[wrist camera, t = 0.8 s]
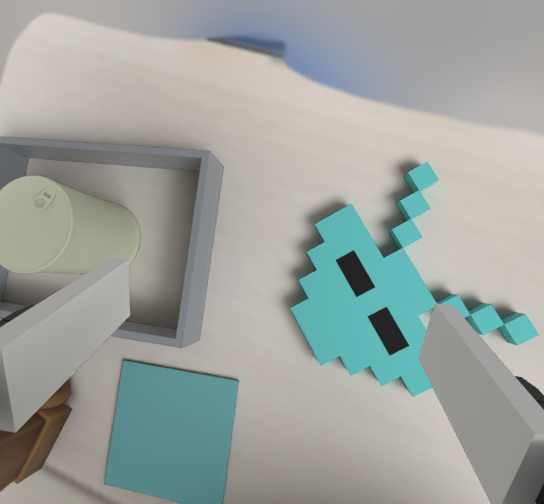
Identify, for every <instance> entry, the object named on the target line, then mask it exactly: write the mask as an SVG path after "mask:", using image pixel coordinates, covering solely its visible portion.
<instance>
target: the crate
mask: <svg viewBox="0 0 544 504" xmlns="http://www.w3.org/2000/svg"><path fill="white" fill-rule="evenodd" d="M28 158H37V159H49V160H62V161H75V162H87V163H100V164H113V165H125V166H138V167H150V168H163V169H176V170H188V171H200V173H199V180H198V187H197V194H196V201H195V208H194V215H193V222H192V229H191V236H190V243H189V249H188V256H187V263H186V270H185V277H184V284H183V291H182V298H181V305H180V312H179V319H178V326H177V329H172V328H165V327H159V326H153V325H147V324H140V323H134V322H128V321H124V322H123V323H122V324H121V325H120V326H119V327H118V328H117V329H116V330H115V331H114V332H113V334H112V335H111V336H113V337H119V338H125V339H131V340H137V341H143V342H149V343H155V344H161V345H167V346H173V347H179V348H183V347H185V346H188V345H190V344H192V343H194V342H196V341H199V340H200V333H201V326H202V319H203V312H204V305H205V297H206V290H207V283H208V276H209V269H210V261H211V254H212V247H213V240H214V233H215V225H216V218H217V211H218V204H219V197H220V189H221V182H222V175H223V168H224V167H223V165H222V164H221V163H220V162H219V161H218V160H217V159H216V157H215V156H214V155H213V154H212V153H211V152H210V151H203V150H189V149H174V148H160V147H145V146H131V145H116V144H101V143H87V142H72V141H58V140H43V139H29V138H14V137H0V190H1V189H2V188H3V187H4V186H6V185H7V184H8V183H10V182H11V181H13V180H15V179H17V178H20V177H24V176H25V175H26V169H27V164H28ZM7 275H8V269H6V268H4V267H3V266H2V265H0V318H5V317H7V316H8V315H10V314H12V313H13V312H15V311H17V310H20V309H23V308H25V307H28V306H27V305H21V304H14V303H8V302H3V297H4V291H5V286H6V280H7Z"/></svg>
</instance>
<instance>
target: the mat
mask: <svg viewBox="0 0 544 504" xmlns="http://www.w3.org/2000/svg"><path fill="white" fill-rule="evenodd" d="M238 382H239V380H234V379H228V378H223V377H217V376H212V375H206V374H201V373H195V372H189V371H184V370H178V369H173V368H167V367H161V366H156V365H150V364H145V363H139V362H133V361H128V360H124V361H123V365H122V372H121V378H120V385H119V391H118V398H117V404H116V411H115V417H114V424H113V430H112V437H111V443H110V450H109V456H108V463H107V469H106V476H105V482H104V484H106V485H110V486H114V487H118V488H123V489H127V490H131V491H135V492H139V493H143V494H147V495H151V496H155V497H159V498H163V499H167V500H171V501H176V502H180V503H184V504H223V498H224V490H225V482H226V475H227V467H228V459H229V452H230V444H231V436H232V428H233V421H234V413H235V405H236V398H237V390H238Z"/></svg>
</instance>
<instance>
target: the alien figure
mask: <svg viewBox="0 0 544 504" xmlns="http://www.w3.org/2000/svg"><path fill="white" fill-rule="evenodd" d="M404 178H405V179H406V181H407V183H408V184H409V186H410V187H411V189H412V191H413V192H414V193H413V194H411V195H409V196H408V197H406V198H404V199H402V200H400V201H399V202H398V203H397V206H398V208H399V209H400V211H401V213H402V214H403V216H404V217H405V219H406V222H404V223H403V224H401V225H399V226H397V227H395V228H393V229H392V230H390V231H389V233H390V235H391V236H392V238H393V240H394V241H395V243H396V245H397V246H398V248H399V250H397V251H396V252H394V253H392V254H390V255H388V256H386V257H384V258H383V256H382V254H381V253H380V251H379V249H378V248H377V246H376V244H375V243H374V241H373V239H372V237H371V236H370V234H369V232H368V231H367V229H366V227H365V226H364V224H363V222H362V221H361V219H360V217H359V216H358V214H357V212H356V210H355V209H354V207H353V205H352V204H350V205H348V206H347V207H345V208H343V209H341V210H339V211H338V212H336V213H334V214H332V215H330V216H329V217H327V218H325V219H323V220H321V221H320V222H318V223H316V224H315V227H316V229H317V231H318V232H319V234H320V236H321V238H322V239H323V241H324V243H322V244H320V245H319V246H317V247H315V248H313V249H311V250H309V251H308V252H307V253H308V255H309V257H310V259H311V260H312V262H313V264H314V266H315V268H316V269H317V270H316V271H314V272H312V273H311V274H309V275H307V276H305V277H303V278H301V279H300V280H299V282H300V284H301V285H302V287H303V289H304V291H305V293H306V295H307V296H308V299H306V300H304V301H302V302H301V303H299V304H297V305H295V306H293V307H291V308H290V309H291V310H292V312H293V314H294V316H295V318H296V320H297V322H298V324H299V325H300V327H301V329H302V331H303V333H304V335H305V337H306V339H307V340H308V342H309V344H310V346H311V348H312V350H313V352H314V354H315V355H316V357H317V359H318V361H319V363H320V365H323V364H325V363H327V362H329V361H331V360H333V359H335V358H337V357H339V356H340V357H341V359H342V361H343V363H344V364H345V366H346V368H347V370H348V372H349V374H350V375H353V374H355V373H357V372H359V371H361V370H363V369H365V368H367V367H369V366H370V367H371V368H372V370H373V372H374V374H375V376H376V377H377V379H378V381H379V383H380V385H381V386H382V385H384V384H386V383H388V382H390V381H392V380H394V379H396V378H398V377H401V379H402V380H403V382H404V384H405V386H406V387H407V389H408V391H409V392H410V394H411V395H412V396H413V397H414V396H416V395H418V394H420V393H422V392H424V391H426V390H428V389H430V388H432V385H431V383H430V381H429V379H428V377H427V375H426V373H425V371H424V369H423V367H422V365H421V363H420V361H419V359H418V357H419V354H420V351H421V347H422V344H423V341H424V337H425V334H426V331H427V330H426V329H425V327H424V325H423V324H422V322H421V320H420V318H419V317H418V315H420V314H422V313H424V312H426V311H428V310H430V309H432V308H433V307H434V304H435V303H438V304H445V305H452V306H454V307H455V308H456V309H457V310H458V311H459V313H460V314H461V315H462V316H463V317H464V318H465V317H466V318H467V320H468V321H469V323H470V325H471V326H472V328H473V329H474V330H475V331H476V332H477V333H478V334H481V335H485V334H487V333H489V332H491V331H493V330H495V329H497V328H499V329H500V331H501V332H502V334H503V335H504V337H505V339H506V340H507V342H508V343H511V344H514V345H519V344H521V343H523V342H525V341H527V340H529V339H531V338H533V337H535V336H537V335H539V334H538V333H537V331H536V329H535V328H534V326H533V325H532V323H531V322H530V320H529V319H528V317H527V316H526V314H522V313H514V314H512V315H510V316H508V317H506V318H504V319H502V320H501V319H500V317H499V316H498V314H497V312H496V311H495V309H494V308H493V306H492V305H491V304H485V303H483V304H481V305H479V306H477V307H475V308H473V309H471V310H469V311H468V310H467V308H466V307H465V305H464V303H463V302H462V300H461V299H460V297H459V295H453V294H452V295H450V296H448V297H446V298H444V299H442V300H440V301H438V302H436V301H435V300H434V298H433V296H432V295H431V293H430V291H429V290H428V288H427V287H426V285H425V283H424V282H423V280H422V278H421V277H420V275H419V273H418V272H417V270H416V268H415V267H414V265H413V263H412V262H411V260H410V258H409V257H408V255H407V253H406V252H405V250H404V249H403V248H404V247H406V246H407V245H409V244H411V243H413V242H415V241H417V240H419V239H420V238H422V236H421V234H420V232H419V231H418V229H417V227H416V226H415V224H414V223H413V221H412V219H413V218H415V217H417V216H419V215H421V214H422V213H424V212H426V211H427V210H429V209H430V206H429V205H428V203H427V202H426V200H425V199H424V197H423V195H422V194H421V192H420V191H422V190H424V189H426V188H427V187H429V186H431V185H433V184H434V183H435V182H436V181H437V180H439V179H438V178H437V176H436V175H435V173H434V171H433V170H432V168H431V167H430V165H429V164H428V162H426V163H424V164H422V165H420V166H418V167H417V168H415V169H413V170H411V171H409V172H408V173H407V174H406V176H405V177H404Z"/></svg>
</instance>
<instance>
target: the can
mask: <svg viewBox="0 0 544 504" xmlns="http://www.w3.org/2000/svg"><path fill="white" fill-rule="evenodd" d="M139 244H140V230H139V226H138V223H137V221H136V219H135V217H134V216H133V215H132V213H131V212H130V211H129V210H127V209H126V208H125V207H123V206H121V205H119V204H116V203H111V202H107V201H104V200H101V199H98V198H96V197H93V196H90V195H88V194H85V193H82V192H80V191H77V190H75V189H72V188H69V187H67V186H64V185H62V184H59V183H57V182H55V181H53V180H51V179H49V178H46V177H43V176H38V175H30V176H24V177H20V178H17V179H15V180H13V181H11V182H10V183H8V184H7V185H6V186H4V187H3V188H2V189H1V190H0V265H2V266H3V267H4V268H6V269H8V270H10V271H13V272H17V273H63V274H86V273H88V272H89V271H91V270H92V269H94V268H96V267H97V266H99V265H100V264H102V263H103V262H105V261H107V260H108V259H110V258H111V257H112V258H119V259H126V260H129V264H130V263H131V262H132V261H133V259H134V258H135V256H136V254H137V251H138V248H139Z"/></svg>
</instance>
